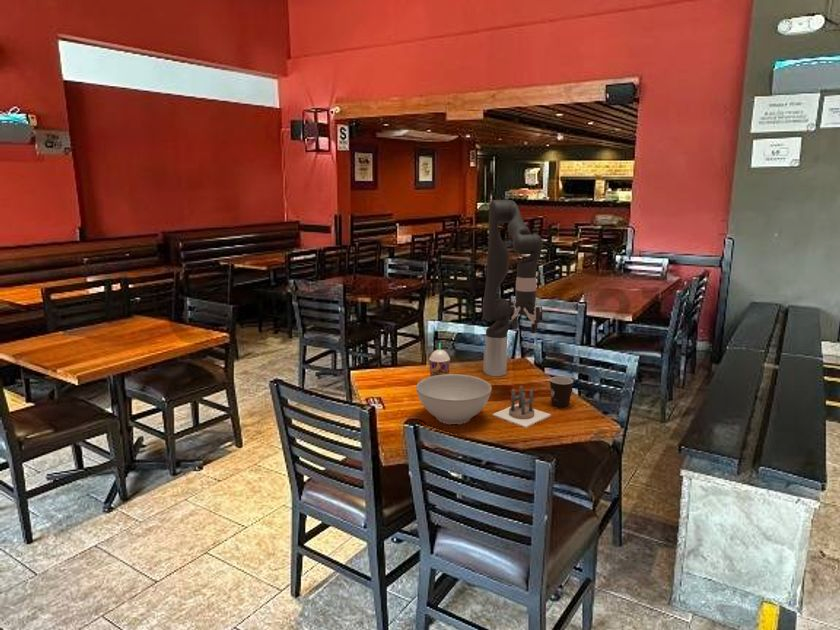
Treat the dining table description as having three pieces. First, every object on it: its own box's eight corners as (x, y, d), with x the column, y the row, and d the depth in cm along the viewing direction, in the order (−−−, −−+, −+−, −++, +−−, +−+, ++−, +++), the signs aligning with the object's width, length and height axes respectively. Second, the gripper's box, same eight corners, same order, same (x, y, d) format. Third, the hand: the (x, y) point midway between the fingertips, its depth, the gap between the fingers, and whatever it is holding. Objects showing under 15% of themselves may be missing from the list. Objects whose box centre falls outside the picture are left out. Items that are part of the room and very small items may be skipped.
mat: (492, 415, 217) (492, 414, 217) (517, 404, 227) (517, 403, 227) (525, 428, 206) (525, 426, 206) (551, 416, 216) (551, 414, 216)
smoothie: (439, 395, 236) (439, 347, 232) (425, 390, 242) (424, 343, 238) (454, 390, 242) (454, 343, 237) (440, 385, 248) (440, 339, 243)
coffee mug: (572, 410, 221) (573, 384, 219) (548, 408, 223) (549, 383, 221) (571, 399, 232) (572, 374, 230) (548, 397, 234) (549, 373, 232)
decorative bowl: (472, 400, 232) (473, 370, 229) (503, 427, 207) (504, 394, 204) (407, 409, 223) (406, 378, 221) (431, 438, 199) (431, 404, 196)
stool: (519, 407, 223) (520, 383, 220) (539, 414, 216) (540, 389, 214) (503, 414, 217) (504, 389, 214) (524, 421, 210) (525, 396, 208)
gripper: (548, 290, 218) (545, 332, 222) (516, 284, 228) (515, 325, 232) (535, 292, 213) (533, 336, 217) (504, 287, 223) (503, 329, 227)
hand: (524, 331), depth 224 cm, fingers open, 8 cm apart
